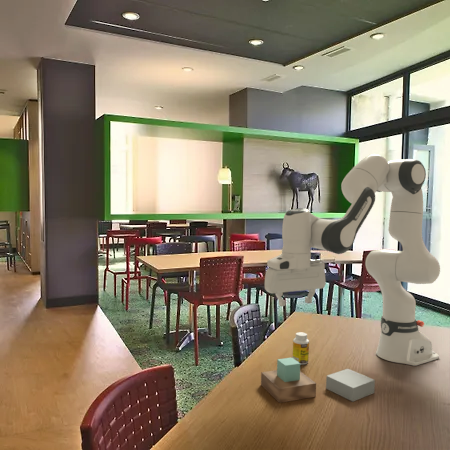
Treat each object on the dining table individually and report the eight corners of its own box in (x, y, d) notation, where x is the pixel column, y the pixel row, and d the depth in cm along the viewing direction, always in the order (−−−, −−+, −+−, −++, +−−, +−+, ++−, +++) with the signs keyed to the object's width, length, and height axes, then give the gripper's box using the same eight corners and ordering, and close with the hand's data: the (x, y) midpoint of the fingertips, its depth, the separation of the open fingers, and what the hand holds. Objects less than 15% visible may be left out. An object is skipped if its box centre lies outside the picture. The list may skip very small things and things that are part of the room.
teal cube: (291, 373, 134) (291, 357, 134) (299, 379, 130) (300, 363, 129) (276, 375, 133) (277, 359, 132) (284, 382, 128) (285, 365, 127)
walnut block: (295, 379, 139) (295, 367, 139) (315, 396, 128) (316, 383, 128) (260, 384, 135) (261, 372, 134) (279, 402, 124) (279, 389, 123)
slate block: (347, 380, 139) (347, 368, 139) (374, 392, 131) (374, 379, 131) (325, 388, 133) (326, 375, 133) (352, 401, 125) (353, 388, 125)
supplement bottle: (300, 366, 150) (301, 337, 149) (289, 361, 154) (290, 332, 153) (311, 363, 153) (312, 334, 152) (300, 358, 157) (301, 330, 157)
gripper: (318, 257, 143) (318, 298, 144) (262, 261, 135) (262, 304, 137) (330, 260, 137) (329, 303, 138) (271, 264, 129) (271, 310, 131)
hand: (295, 304), depth 137 cm, fingers open, 8 cm apart
